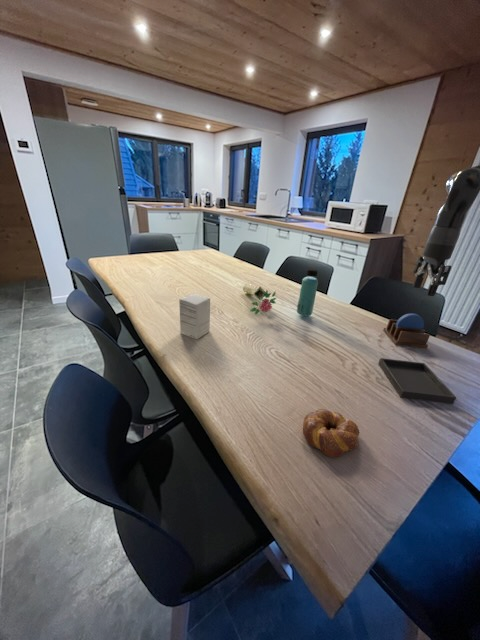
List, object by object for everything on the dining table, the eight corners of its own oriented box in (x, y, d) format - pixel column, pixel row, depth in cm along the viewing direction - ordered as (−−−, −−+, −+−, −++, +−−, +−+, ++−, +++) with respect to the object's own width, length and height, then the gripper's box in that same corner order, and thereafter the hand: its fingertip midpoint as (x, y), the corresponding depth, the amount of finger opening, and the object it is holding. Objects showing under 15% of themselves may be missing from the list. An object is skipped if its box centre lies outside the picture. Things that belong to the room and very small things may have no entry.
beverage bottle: (313, 315, 111) (323, 269, 103) (308, 321, 106) (318, 272, 97) (298, 311, 114) (307, 266, 105) (293, 316, 109) (301, 269, 100)
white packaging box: (193, 325, 95) (193, 292, 90) (210, 331, 92) (211, 297, 86) (179, 333, 89) (178, 298, 84) (196, 340, 86) (196, 304, 81)
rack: (411, 333, 103) (416, 321, 101) (427, 348, 93) (432, 335, 91) (383, 330, 104) (387, 318, 101) (395, 344, 94) (400, 331, 91)
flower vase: (253, 308, 133) (280, 325, 100) (230, 301, 129) (251, 317, 96) (261, 286, 131) (291, 296, 98) (238, 278, 127) (261, 286, 94)
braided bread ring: (342, 414, 61) (346, 401, 60) (370, 456, 52) (376, 443, 50) (293, 417, 59) (296, 404, 58) (312, 461, 50) (316, 448, 48)
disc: (416, 336, 98) (426, 315, 94) (418, 338, 97) (428, 316, 93) (391, 333, 99) (400, 311, 95) (393, 335, 97) (402, 313, 93)
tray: (421, 368, 81) (424, 363, 80) (453, 403, 67) (456, 397, 66) (378, 363, 82) (380, 358, 81) (400, 397, 68) (403, 391, 67)
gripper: (470, 247, 76) (447, 299, 83) (440, 239, 88) (422, 285, 95) (443, 245, 76) (422, 297, 83) (417, 237, 89) (401, 284, 96)
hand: (422, 291), depth 89 cm, fingers open, 8 cm apart
